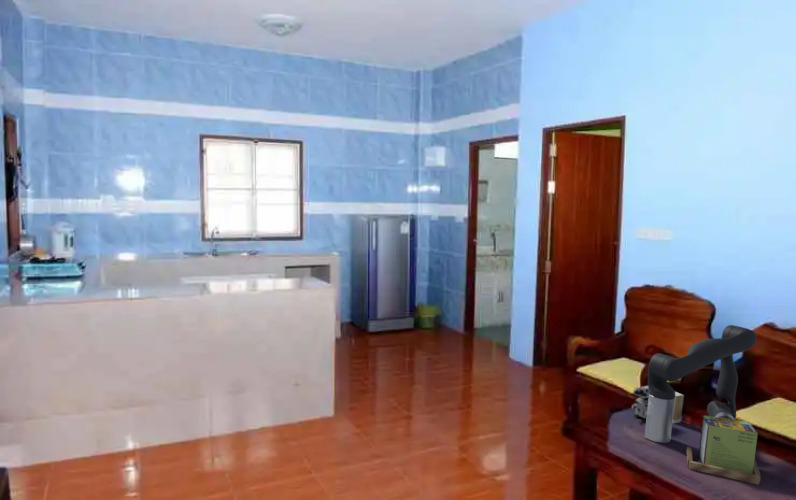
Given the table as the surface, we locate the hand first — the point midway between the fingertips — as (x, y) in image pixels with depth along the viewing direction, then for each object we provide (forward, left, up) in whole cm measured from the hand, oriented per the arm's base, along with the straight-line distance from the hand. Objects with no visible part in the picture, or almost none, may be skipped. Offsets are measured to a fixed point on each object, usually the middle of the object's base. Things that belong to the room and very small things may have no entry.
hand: (729, 440), depth 210 cm
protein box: (-1, -6, -7) cm, 9 cm away
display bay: (-3, -9, -7) cm, 12 cm away
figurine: (-30, +23, -7) cm, 38 cm away
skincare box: (-19, +31, -7) cm, 37 cm away
